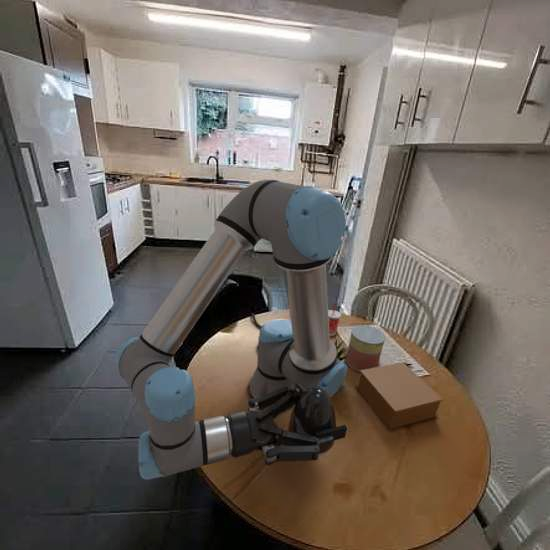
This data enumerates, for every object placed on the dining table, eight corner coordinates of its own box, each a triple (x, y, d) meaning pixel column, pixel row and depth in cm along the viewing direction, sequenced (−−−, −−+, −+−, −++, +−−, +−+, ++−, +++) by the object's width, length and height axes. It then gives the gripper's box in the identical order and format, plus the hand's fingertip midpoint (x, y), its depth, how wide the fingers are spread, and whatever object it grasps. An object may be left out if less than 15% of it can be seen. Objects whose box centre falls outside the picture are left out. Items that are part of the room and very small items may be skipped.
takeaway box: (356, 387, 99) (360, 370, 96) (398, 379, 104) (403, 362, 101) (389, 430, 84) (395, 411, 82) (436, 417, 90) (443, 399, 87)
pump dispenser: (302, 417, 74) (309, 366, 69) (341, 442, 69) (352, 389, 63) (276, 445, 67) (281, 391, 61) (317, 476, 61) (327, 420, 55)
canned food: (380, 375, 105) (387, 346, 101) (346, 369, 106) (352, 340, 102) (375, 355, 116) (382, 327, 111) (345, 350, 117) (350, 323, 112)
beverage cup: (320, 328, 130) (325, 299, 124) (334, 328, 131) (339, 298, 126) (325, 337, 124) (330, 306, 119) (339, 336, 125) (345, 306, 120)
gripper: (218, 407, 70) (308, 388, 77) (241, 509, 50) (358, 472, 58) (218, 380, 67) (312, 364, 74) (242, 478, 48) (365, 443, 55)
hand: (332, 411), depth 66 cm, fingers closed on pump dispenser, 9 cm apart
